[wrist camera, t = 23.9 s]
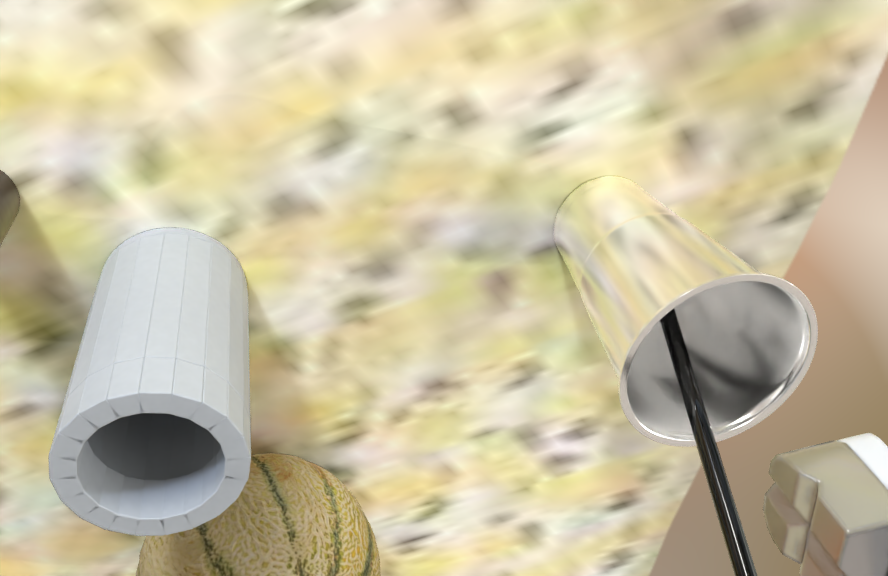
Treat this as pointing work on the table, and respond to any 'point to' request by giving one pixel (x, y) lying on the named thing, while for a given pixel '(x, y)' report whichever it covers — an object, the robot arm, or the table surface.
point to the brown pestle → (7, 204)
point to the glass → (684, 328)
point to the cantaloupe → (273, 529)
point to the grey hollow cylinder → (158, 389)
